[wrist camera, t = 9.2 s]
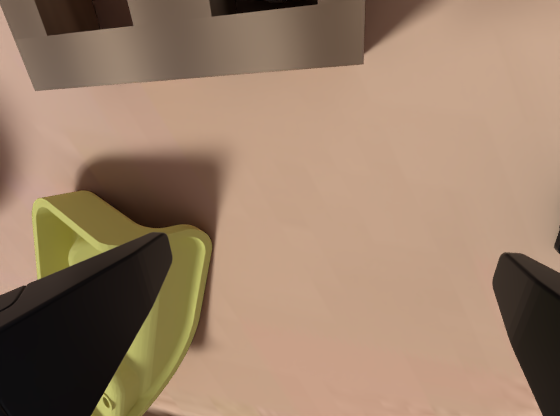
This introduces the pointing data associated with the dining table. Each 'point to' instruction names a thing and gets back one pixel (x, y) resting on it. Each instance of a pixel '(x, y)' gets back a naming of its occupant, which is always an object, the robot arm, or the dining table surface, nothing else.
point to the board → (179, 40)
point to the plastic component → (167, 308)
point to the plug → (275, 1)
